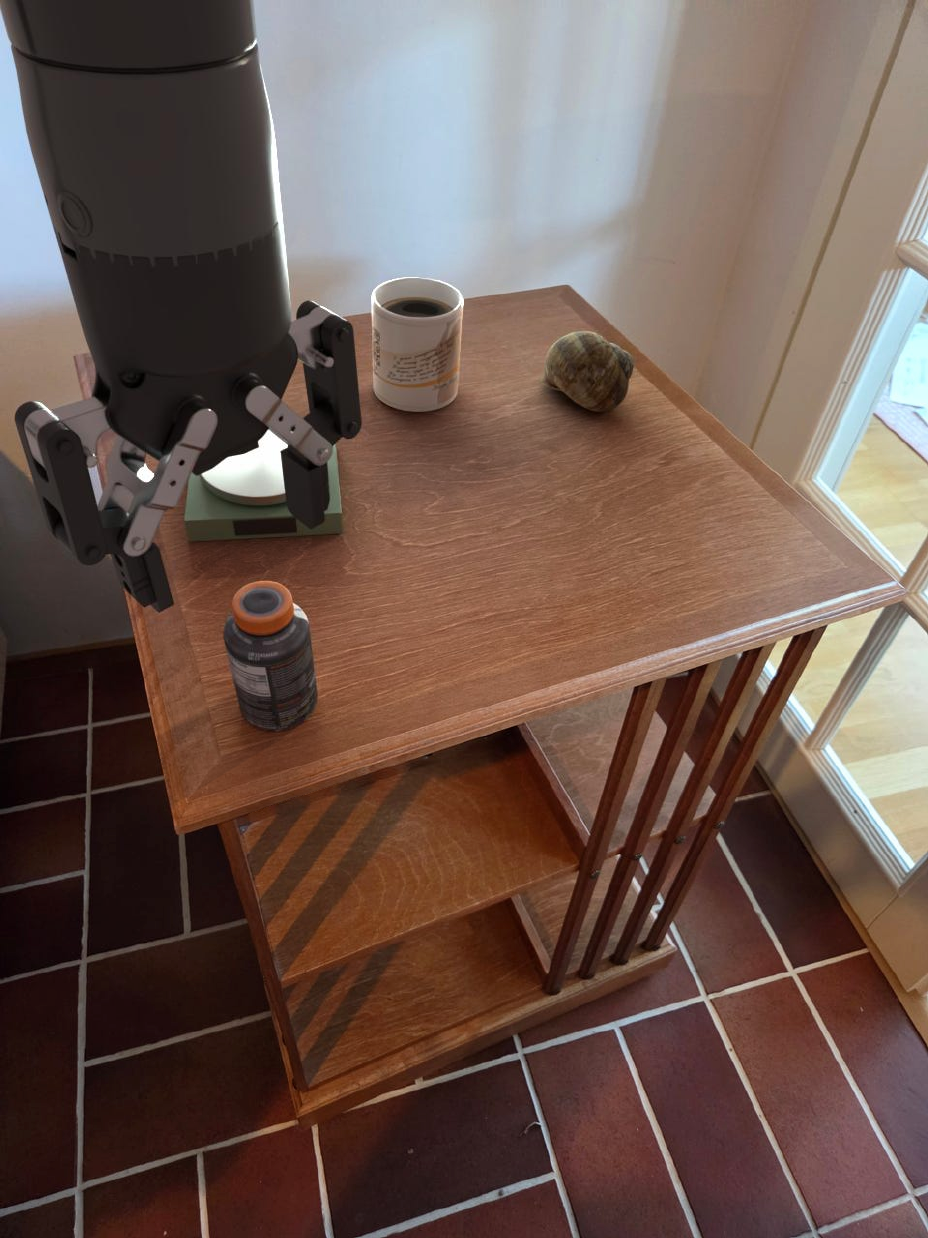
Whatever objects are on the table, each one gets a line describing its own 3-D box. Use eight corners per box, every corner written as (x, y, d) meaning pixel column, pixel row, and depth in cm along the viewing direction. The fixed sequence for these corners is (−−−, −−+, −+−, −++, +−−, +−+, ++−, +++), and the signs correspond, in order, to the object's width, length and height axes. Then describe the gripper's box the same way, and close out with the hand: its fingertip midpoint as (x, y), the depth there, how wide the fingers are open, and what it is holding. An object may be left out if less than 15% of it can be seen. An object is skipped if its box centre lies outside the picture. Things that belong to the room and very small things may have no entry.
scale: (188, 542, 76) (180, 508, 73) (198, 452, 85) (191, 418, 82) (343, 534, 78) (341, 500, 75) (335, 447, 88) (333, 414, 85)
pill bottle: (310, 666, 67) (299, 562, 58) (324, 724, 63) (314, 622, 55) (234, 681, 65) (211, 576, 57) (244, 742, 61) (222, 639, 53)
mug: (353, 398, 94) (349, 304, 86) (396, 350, 102) (396, 260, 94) (439, 420, 92) (443, 326, 84) (476, 370, 100) (483, 280, 92)
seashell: (638, 419, 95) (654, 355, 89) (562, 428, 93) (573, 363, 87) (599, 369, 102) (611, 306, 96) (528, 376, 100) (536, 313, 94)
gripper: (272, 132, 33) (304, 464, 45) (-100, 214, 26) (54, 586, 38) (399, 188, 30) (398, 531, 42) (12, 301, 23) (142, 680, 34)
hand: (234, 557), depth 40 cm, fingers open, 8 cm apart
